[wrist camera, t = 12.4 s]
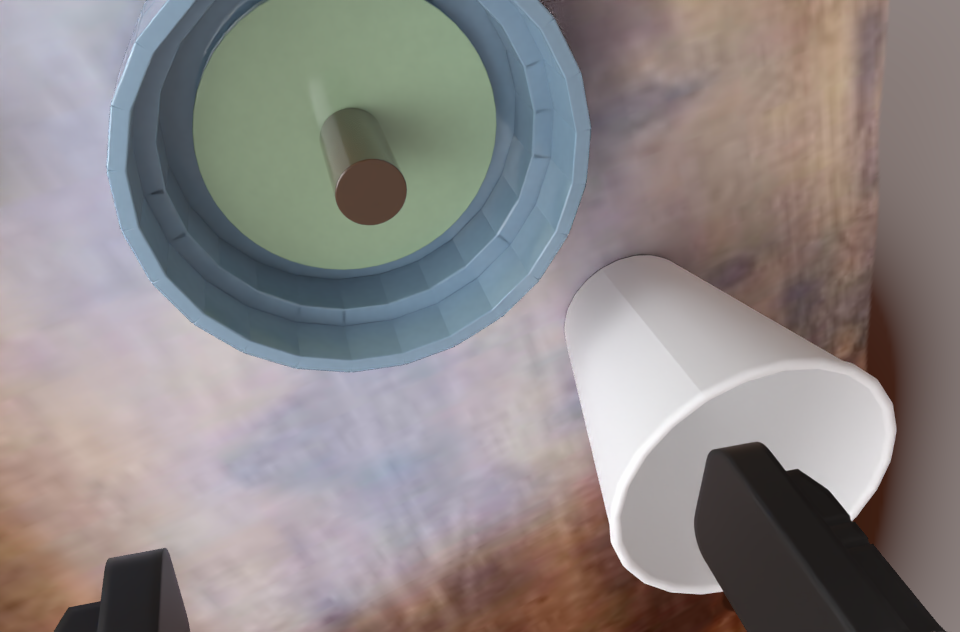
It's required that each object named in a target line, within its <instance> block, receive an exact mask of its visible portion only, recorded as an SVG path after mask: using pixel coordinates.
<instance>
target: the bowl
mask: <svg viewBox="0 0 960 632" xmlns="http://www.w3.org/2000/svg"><path fill="white" fill-rule="evenodd" d="M260 1H262V0H146V3H145V4H144V5H143V7H142V10H141V13H140V15H139V18H138V21H137V23H136V26H135V28H134V31H133V34H132V36H131V39H130V41H129V44H128V47H127V49H126V52H125V55H124V58H123V61H122V65H121V69H120V72H119V76H118V79H117V83H116V87H115V90H114V94H113V98H112V101H111V106H110V117H109V133H108V149H107V165H106V168H107V175H108V180H109V184H110V188H111V192H112V196H113V200H114V204H115V209H116V213H117V217H118V221H119V225H120V229H121V230H122V233H123V235H124V237H125V239H126V240H127V242H128V244H129V246H130V247H131V249H132V251H133V252H134V254H135V256H136V258H137V259H138V261H139V263H140V265H141V266H142V268H143V270H144V272H145V273H146V275H147V277H148V278H149V280H150V281H151V282H152V284H153V285H154V286H155V287H156V288H157V289H158V290H159V291H160V292H161V293H162V294H163V295H164V296H165V297H166V298H167V299H168V300H169V301H170V302H171V303H172V304H173V305H174V306H175V307H176V308H177V309H178V310H179V311H180V312H181V313H182V314H183V315H184V316H185V317H186V318H187V319H188V320H189V321H190V322H192V323H194V325H196V326H197V327H199V328H201V329H203V330H204V331H206V332H208V333H209V334H211V335H213V336H215V337H216V338H218V339H220V340H222V341H223V342H225V343H227V344H228V345H230V346H232V347H234V348H235V349H237V350H239V351H241V352H242V351H243V353H245V354H249V355H252V356H255V357H259V358H262V359H265V360H269V361H272V362H275V363H279V364H282V365H285V366H289V367H292V368H297V369H308V370H322V371H336V372H358V371H365V370H372V369H379V368H386V367H393V366H400V365H404V364H409V363H412V362H414V361H417V360H420V359H422V358H425V357H428V356H431V355H433V354H436V353H439V352H442V351H444V350H447V349H450V348H453V347H455V345H458V344H460V343H462V342H463V341H465V340H466V339H468V338H470V337H471V336H473V335H474V334H476V333H478V332H479V331H481V330H482V329H484V328H486V327H487V326H489V325H490V324H492V323H493V322H495V321H497V320H498V319H500V317H503V316H504V315H505V314H506V313H507V312H508V311H509V310H510V309H511V308H512V307H513V306H514V305H515V304H516V303H517V302H518V301H519V300H520V299H521V298H522V297H523V296H524V295H525V294H526V293H527V292H528V291H529V290H530V289H531V288H532V287H533V286H534V285H535V284H536V283H538V282H539V279H541V277H542V275H543V274H544V272H545V271H546V269H547V268H548V266H549V265H550V263H551V262H552V260H553V258H554V257H555V255H556V254H557V252H558V251H559V249H560V248H561V246H562V244H563V243H564V241H565V240H566V238H567V237H568V235H567V234H569V232H570V230H571V227H572V224H573V221H574V218H575V215H576V212H577V210H578V207H579V204H580V201H581V198H582V195H583V192H584V190H585V187H586V183H587V173H588V161H589V149H590V138H591V122H590V117H589V111H588V106H587V100H586V95H585V89H584V84H583V78H582V73H581V72H580V68H579V66H578V64H577V62H576V60H575V58H574V56H573V54H572V52H571V50H570V48H569V46H568V44H567V42H566V40H565V38H564V35H563V33H562V31H561V29H560V27H559V25H558V23H557V21H556V19H555V18H554V17H553V15H552V14H551V13H550V12H549V11H548V10H547V8H546V7H545V6H544V5H543V4H542V3H541V2H540V1H539V0H427V1H429V2H430V3H432V4H434V5H435V6H437V7H438V8H439V9H440V10H441V11H443V12H444V13H445V14H446V15H447V16H448V17H450V18H451V19H452V20H453V21H454V22H455V24H456V25H457V26H458V27H459V28H460V29H461V30H462V31H463V33H464V34H465V35H466V36H467V37H468V39H469V40H470V42H471V43H472V45H473V46H474V48H475V49H476V51H477V52H478V54H479V56H480V58H481V60H482V62H483V64H484V66H485V68H486V70H487V73H488V76H489V79H490V82H491V86H492V89H493V94H494V100H495V105H496V123H497V127H496V138H495V146H494V150H493V155H492V159H491V163H490V166H489V168H488V171H487V174H486V177H485V179H484V181H483V183H482V185H481V187H480V189H479V191H478V193H477V195H476V196H475V198H474V199H473V201H472V202H471V204H470V205H469V207H468V208H467V209H466V211H465V212H464V213H463V214H462V215H461V216H460V218H459V219H458V220H457V221H456V222H455V223H454V224H453V225H452V226H451V227H450V228H449V229H448V230H447V231H445V232H444V233H443V234H442V235H441V236H439V237H438V238H437V239H435V240H434V241H432V242H431V243H430V244H428V245H427V246H425V247H423V248H421V249H420V250H418V251H416V252H414V253H412V254H410V255H408V256H405V257H403V258H401V259H398V260H396V261H392V262H389V263H386V264H382V265H379V266H373V267H368V268H362V269H347V270H338V269H323V268H317V267H311V266H306V265H303V264H299V263H296V262H292V261H289V260H287V259H284V258H282V257H280V256H277V255H275V254H273V253H271V252H269V251H267V250H266V249H264V248H262V247H261V246H259V245H257V244H255V243H254V242H253V241H252V240H250V239H249V238H248V237H246V236H245V235H244V234H242V233H241V232H240V231H239V230H238V229H237V228H236V227H235V226H234V225H233V224H232V223H231V222H230V221H229V220H228V219H227V218H226V216H225V215H224V214H223V213H222V211H221V210H220V209H219V207H218V206H217V205H216V203H215V202H214V200H213V198H212V196H211V195H210V193H209V191H208V190H207V188H206V186H205V183H204V181H203V178H202V176H201V173H200V171H199V168H198V164H197V160H196V156H195V152H194V143H193V134H192V123H193V105H194V100H195V94H196V89H197V85H198V82H199V79H200V77H201V74H202V71H203V68H204V66H205V64H206V62H207V60H208V58H209V56H210V54H211V52H212V50H213V49H214V47H215V46H216V44H217V43H218V42H219V40H220V39H221V37H222V36H223V35H224V33H225V32H226V31H227V30H228V29H229V28H230V27H231V26H232V25H233V23H234V22H235V21H236V20H237V19H238V18H239V17H240V16H242V15H243V14H244V13H245V12H247V11H248V10H249V9H250V8H252V7H253V6H254V5H255V4H257V3H258V2H260Z"/></svg>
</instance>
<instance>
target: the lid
mask: <svg viewBox="0 0 960 632" xmlns="http://www.w3.org/2000/svg"><path fill="white" fill-rule="evenodd" d="M496 127H497V123H496V105H495V100H494V94H493V89H492V86H491V82H490V79H489V76H488V73H487V70H486V68H485V66H484V64H483V62H482V60H481V58H480V56H479V54H478V52H477V51H476V49H475V48H474V46H473V45H472V43H471V42H470V40H469V39H468V37H467V36H466V35H465V34H464V33H463V31H462V30H461V29H460V28H459V27H458V26H457V25H456V24H455V22H454V21H453V20H452V19H451V18H450V17H448V16H447V15H446V14H445V13H444V12H443V11H441V10H440V9H439V8H438V7H437V6H435V5H434V4H432V3H430V2H429V1H427V0H262V1H260V2H258V3H257V4H255V5H254V6H253V7H252V8H250V9H249V10H248V11H247V12H245V13H244V14H243V15H242V16H240V17H239V18H238V19H237V20H236V21H235V22H234V23H233V25H232V26H231V27H230V28H229V29H228V30H227V31H226V32H225V33H224V35H223V36H222V37H221V39H220V40H219V42H218V43H217V44H216V46H215V47H214V49H213V50H212V52H211V54H210V56H209V58H208V60H207V62H206V64H205V66H204V68H203V71H202V74H201V77H200V79H199V82H198V85H197V89H196V94H195V100H194V105H193V123H192V134H193V143H194V152H195V156H196V160H197V164H198V168H199V171H200V173H201V176H202V178H203V181H204V183H205V186H206V188H207V190H208V191H209V193H210V195H211V196H212V198H213V200H214V202H215V203H216V205H217V206H218V207H219V209H220V210H221V211H222V213H223V214H224V215H225V216H226V218H227V219H228V220H229V221H230V222H231V223H232V224H233V225H234V226H235V227H236V228H237V229H238V230H239V231H240V232H241V233H242V234H244V235H245V236H246V237H248V238H249V239H250V240H252V241H253V242H254V243H255V244H257V245H259V246H261V247H262V248H264V249H266V250H267V251H269V252H271V253H273V254H275V255H277V256H280V257H282V258H284V259H287V260H289V261H292V262H296V263H299V264H303V265H306V266H311V267H317V268H323V269H338V270H347V269H362V268H368V267H373V266H379V265H382V264H386V263H389V262H392V261H396V260H398V259H401V258H403V257H405V256H408V255H410V254H412V253H414V252H416V251H418V250H420V249H421V248H423V247H425V246H427V245H428V244H430V243H431V242H432V241H434V240H435V239H437V238H438V237H439V236H441V235H442V234H443V233H444V232H445V231H447V230H448V229H449V228H450V227H451V226H452V225H453V224H454V223H455V222H456V221H457V220H458V219H459V218H460V216H461V215H462V214H463V213H464V212H465V211H466V209H467V208H468V207H469V205H470V204H471V202H472V201H473V199H474V198H475V196H476V195H477V193H478V191H479V189H480V187H481V185H482V183H483V181H484V179H485V177H486V174H487V171H488V168H489V166H490V163H491V159H492V155H493V150H494V146H495V138H496Z"/></svg>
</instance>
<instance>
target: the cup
mask: <svg viewBox="0 0 960 632" xmlns="http://www.w3.org/2000/svg"><path fill="white" fill-rule="evenodd" d="M564 329H565V340H566V344H567V348H568V353H569V357H570V361H571V365H572V369H573V374H574V378H575V382H576V386H577V390H578V395H579V399H580V403H581V407H582V411H583V416H584V420H585V424H586V428H587V432H588V437H589V441H590V445H591V449H592V453H593V458H594V462H595V466H596V470H597V474H598V479H599V483H600V487H601V491H602V495H603V500H604V504H605V508H606V512H607V516H608V521H609V525H610V538H611V544H612V546H613V547H614V549H615V551H616V553H617V555H618V557H619V559H620V561H621V563H622V565H623V566H624V567H625V568H626V569H627V570H629V571H630V572H631V573H632V574H633V575H635V576H636V577H637V578H638V579H640V580H641V581H642V582H643V583H645V584H648V585H651V586H654V587H657V588H660V589H663V590H665V591H668V592H673V593H688V594H708V593H715V592H722V591H723V590H722V589H721V587H720V585H719V583H718V582H717V580H716V578H715V577H714V575H713V573H712V572H711V570H710V568H709V567H708V565H707V563H706V562H705V560H704V558H703V556H702V555H701V552H700V550H699V547H698V544H697V541H696V537H695V531H694V516H695V511H696V506H697V501H698V497H699V492H700V487H701V482H702V478H703V473H704V468H705V464H706V459H707V456H708V454H709V452H710V451H711V450H713V449H718V448H723V447H729V446H734V445H740V444H745V443H751V442H761V443H763V444H764V445H765V446H766V447H767V448H768V449H769V450H770V451H771V452H772V454H773V455H774V456H775V458H776V459H777V460H778V461H779V463H780V464H781V465H782V467H783V468H784V469H785V470H786V471H788V470H794V469H799V470H800V471H802V472H803V473H805V474H806V475H808V476H809V477H811V478H812V479H814V480H815V481H816V482H818V483H819V484H821V485H822V486H824V487H825V488H827V489H828V490H829V491H830V492H831V493H832V494H833V496H834V497H835V498H836V499H837V501H838V502H839V503H840V504H841V506H842V507H843V508H844V509H845V510H846V512H847V513H848V514H849V515H850V519H851V521H852V520H853V519H854V518H855V517H856V516H857V515H858V514H859V512H860V511H861V510H862V508H863V507H864V506H865V504H866V503H867V502H868V500H869V499H870V498H871V497H872V495H873V494H874V493H875V491H876V490H877V488H878V486H879V484H880V482H881V480H882V478H883V476H884V474H885V471H886V469H887V467H888V465H889V463H890V461H891V457H892V451H893V446H894V441H895V436H896V423H895V416H894V410H893V404H892V402H891V400H890V399H889V397H888V396H887V394H886V392H885V391H884V389H883V388H882V386H881V385H880V383H879V381H878V380H877V379H876V378H874V377H873V376H871V375H870V374H868V373H867V372H865V371H864V370H862V369H860V368H859V367H857V366H856V365H854V364H852V363H850V362H845V361H842V360H840V359H839V358H837V357H835V356H833V355H832V354H830V353H828V352H826V351H825V350H823V349H821V348H820V347H818V346H816V345H814V344H813V343H811V342H809V341H807V340H806V339H804V338H802V337H801V336H799V335H797V334H795V333H794V332H792V331H790V330H789V329H787V328H785V327H783V326H782V325H780V324H778V323H776V322H775V321H773V320H771V319H770V318H768V317H766V316H764V315H763V314H761V313H759V312H757V311H756V310H754V309H752V308H751V307H749V306H747V305H745V304H744V303H742V302H740V301H739V300H737V299H735V298H733V297H732V296H730V295H728V294H726V293H725V292H723V291H721V290H720V289H718V288H716V287H714V286H713V285H711V284H709V283H707V282H706V281H704V280H702V279H701V278H699V277H697V276H695V275H694V274H692V273H690V272H689V271H687V270H685V269H683V268H682V267H680V266H678V265H676V264H675V263H673V262H671V261H670V260H668V259H665V258H661V257H657V256H653V255H642V256H632V257H628V258H624V259H621V260H617V261H615V262H613V263H611V264H609V265H607V266H606V267H604V268H602V269H600V270H599V271H598V272H596V273H595V274H594V275H593V276H591V277H590V278H589V279H588V280H587V281H586V282H585V283H584V284H583V285H582V287H581V288H580V289H579V290H578V292H577V293H576V294H575V295H574V297H573V300H572V302H571V304H570V306H569V308H568V310H567V314H566V319H565V324H564Z"/></svg>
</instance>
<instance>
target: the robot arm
mask: <svg viewBox="0 0 960 632" xmlns="http://www.w3.org/2000/svg"><path fill="white" fill-rule="evenodd" d="M694 531H695V537H696V541H697V544H698V547H699V550H700V552H701V555H702V556H703V558H704V560H705V562H706V563H707V565H708V567H709V568H710V570H711V572H712V573H713V575H714V577H715V578H716V580H717V582H718V583H719V585H720V587H721V589H722V590H723V592H724V594H725V595H726V597H727V599H728V600H729V602H730V603H731V605H732V607H733V609H734V610H735V612H736V614H737V615H738V617H739V619H740V620H741V622H742V624H743V625H744V627H745V629H746V630H747V632H946V631H945V630H943V628H942V627H941V626H940V625H939V624H938V623H937V622H936V621H935V619H934V618H933V617H932V616H931V615H930V613H929V612H928V611H927V610H926V609H925V607H924V606H923V605H922V604H921V602H920V601H919V600H918V599H917V598H916V596H915V595H914V594H913V593H912V591H911V590H910V589H909V588H908V586H907V585H906V584H905V583H904V581H903V580H902V579H901V578H900V577H899V575H898V574H897V573H896V572H895V570H894V569H893V568H892V567H891V566H890V564H889V563H888V562H887V561H886V559H885V558H884V557H883V556H882V555H881V553H880V552H879V551H878V550H877V548H876V547H875V546H874V545H873V544H870V543H869V542H868V537H867V536H866V535H865V534H864V532H863V531H862V530H861V529H860V528H859V526H858V525H857V524H856V523H855V522H852V521H851V519H850V515H849V514H848V513H847V512H846V510H845V509H844V508H843V507H842V506H841V504H840V503H839V502H838V501H837V499H836V498H835V497H834V496H833V494H832V493H831V492H830V491H829V490H828V489H827V488H825V487H824V486H822V485H821V484H819V483H818V482H816V481H815V480H814V479H812V478H811V477H809V476H808V475H806V474H805V473H803V472H802V471H800V470H799V469H794V470H788V471H786V470H785V469H784V468H783V467H782V465H781V464H780V463H779V461H778V460H777V459H776V458H775V456H774V455H773V454H772V452H771V451H770V450H769V449H768V448H767V447H766V446H765V445H764V444H763V443H761V442H751V443H745V444H740V445H734V446H729V447H723V448H718V449H713V450H711V451H710V452H709V454H708V456H707V459H706V464H705V468H704V473H703V478H702V482H701V487H700V492H699V497H698V501H697V506H696V511H695V516H694ZM54 632H190V628H189V622H188V618H187V614H186V610H185V607H184V603H183V600H182V596H181V593H180V589H179V586H178V582H177V579H176V575H175V572H174V568H173V565H172V561H171V558H170V554H169V552H168V550H167V549H166V548H163V549H157V550H152V551H146V552H141V553H135V554H130V555H124V556H119V557H113V558H109V559H108V560H107V562H106V566H105V571H104V579H103V587H102V596H101V601H100V602H95V603H90V604H84V605H79V606H74V607H69V608H68V609H67V611H66V612H65V614H64V616H63V617H62V619H61V620H60V622H59V624H58V625H57V627H56V629H55V630H54Z"/></svg>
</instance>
